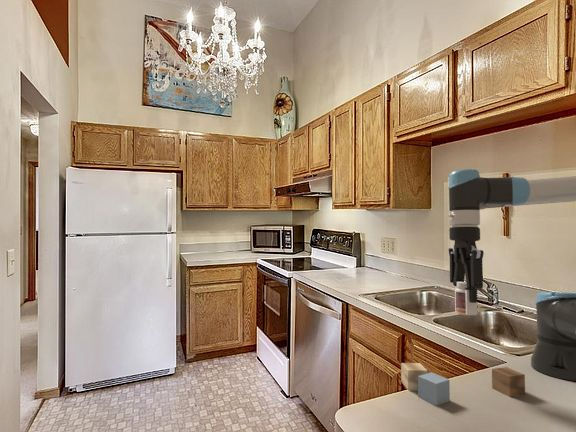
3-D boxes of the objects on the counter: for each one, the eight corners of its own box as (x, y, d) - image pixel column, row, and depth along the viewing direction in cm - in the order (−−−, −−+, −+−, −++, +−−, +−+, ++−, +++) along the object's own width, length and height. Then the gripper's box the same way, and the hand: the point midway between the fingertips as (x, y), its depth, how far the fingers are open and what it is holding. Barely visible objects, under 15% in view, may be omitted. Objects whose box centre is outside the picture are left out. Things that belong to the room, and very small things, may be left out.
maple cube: (419, 382, 92) (419, 363, 93) (427, 390, 87) (427, 370, 88) (401, 382, 92) (401, 363, 92) (408, 390, 87) (408, 370, 88)
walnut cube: (507, 386, 90) (506, 367, 91) (525, 394, 86) (524, 374, 86) (492, 388, 89) (491, 368, 89) (509, 397, 84) (509, 376, 85)
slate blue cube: (431, 392, 86) (431, 372, 87) (449, 400, 82) (449, 379, 82) (418, 397, 84) (418, 376, 84) (436, 406, 79) (436, 383, 80)
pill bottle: (477, 316, 90) (477, 283, 91) (458, 314, 91) (457, 283, 92) (471, 312, 95) (471, 281, 95) (453, 311, 96) (453, 280, 96)
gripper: (436, 226, 103) (437, 305, 102) (468, 225, 86) (470, 320, 84) (460, 227, 103) (462, 305, 102) (498, 225, 86) (500, 320, 84)
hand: (465, 312), depth 93 cm, fingers closed on pill bottle, 5 cm apart
